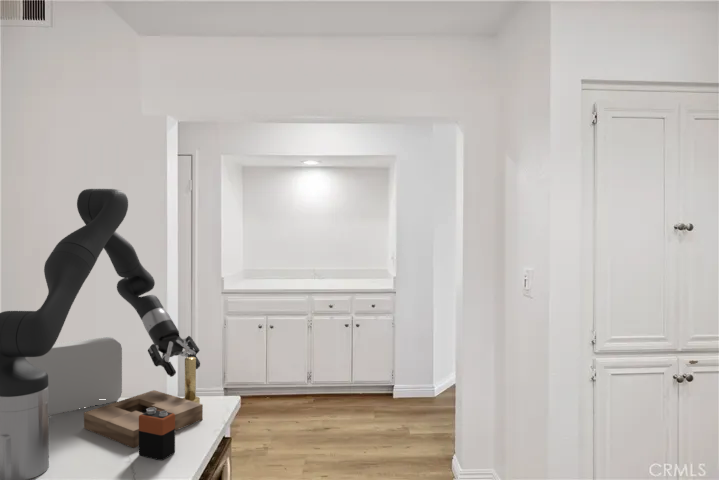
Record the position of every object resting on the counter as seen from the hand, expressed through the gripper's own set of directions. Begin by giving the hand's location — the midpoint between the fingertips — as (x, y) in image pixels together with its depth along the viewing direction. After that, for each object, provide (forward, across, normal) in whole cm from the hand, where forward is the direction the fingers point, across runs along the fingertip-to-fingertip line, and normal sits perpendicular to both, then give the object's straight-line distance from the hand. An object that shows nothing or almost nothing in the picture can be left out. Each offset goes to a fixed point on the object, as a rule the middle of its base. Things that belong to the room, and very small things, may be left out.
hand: (186, 371), depth 143 cm
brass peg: (+8, 0, +5) cm, 9 cm away
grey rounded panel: (-10, -22, +23) cm, 33 cm away
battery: (+21, -25, -8) cm, 34 cm away
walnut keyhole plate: (+9, -16, +4) cm, 19 cm away
